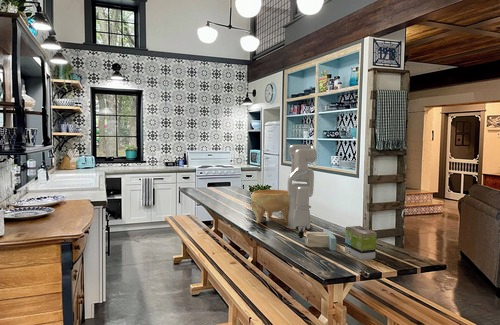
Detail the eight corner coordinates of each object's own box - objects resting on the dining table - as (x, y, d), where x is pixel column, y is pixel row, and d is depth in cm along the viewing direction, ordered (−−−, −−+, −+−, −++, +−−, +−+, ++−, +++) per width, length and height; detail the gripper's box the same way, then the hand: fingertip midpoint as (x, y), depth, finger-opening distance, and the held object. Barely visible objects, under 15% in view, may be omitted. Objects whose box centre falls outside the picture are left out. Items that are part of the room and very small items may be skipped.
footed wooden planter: (294, 217, 296) (295, 188, 294) (295, 227, 261) (297, 195, 260) (252, 214, 299) (253, 186, 298) (248, 224, 265) (249, 193, 263)
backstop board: (322, 240, 231) (323, 229, 231) (327, 240, 231) (328, 229, 231) (330, 250, 211) (331, 238, 211) (335, 250, 211) (336, 238, 211)
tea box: (343, 251, 210) (345, 226, 209) (358, 250, 213) (359, 225, 212) (360, 260, 196) (362, 233, 195) (375, 258, 199) (377, 231, 198)
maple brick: (305, 243, 225) (306, 231, 224) (325, 243, 225) (325, 232, 225) (307, 246, 217) (308, 235, 216) (328, 247, 217) (328, 235, 217)
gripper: (313, 206, 223) (311, 236, 225) (288, 205, 223) (287, 235, 224) (316, 209, 216) (314, 239, 217) (290, 208, 215) (289, 239, 216)
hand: (300, 237), depth 220 cm, fingers closed
